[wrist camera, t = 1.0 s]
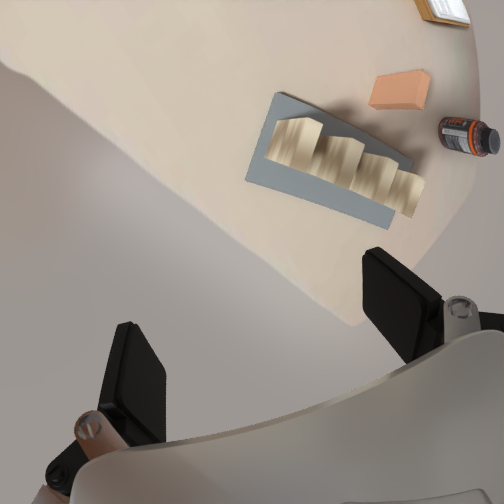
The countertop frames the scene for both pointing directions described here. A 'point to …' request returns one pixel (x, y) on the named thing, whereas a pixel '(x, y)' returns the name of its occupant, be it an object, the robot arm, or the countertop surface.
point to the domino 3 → (374, 177)
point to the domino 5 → (404, 192)
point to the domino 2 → (336, 159)
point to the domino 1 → (294, 142)
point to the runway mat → (308, 184)
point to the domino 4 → (400, 91)
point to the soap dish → (444, 11)
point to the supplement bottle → (468, 136)
